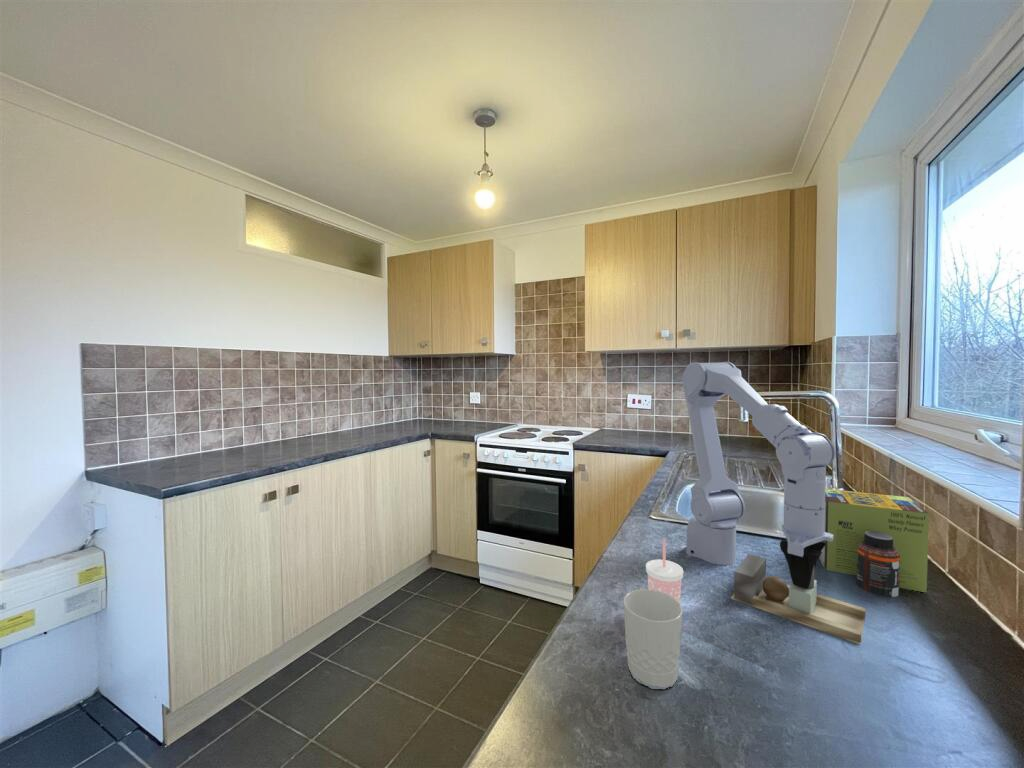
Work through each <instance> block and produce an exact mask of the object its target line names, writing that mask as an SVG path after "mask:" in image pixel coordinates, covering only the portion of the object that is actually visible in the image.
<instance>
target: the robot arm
mask: <svg viewBox="0 0 1024 768" xmlns="http://www.w3.org/2000/svg"><path fill="white" fill-rule="evenodd" d="M681 379H682V386H683V392H684V397H685V401H686V407H687V413H688V414H687V415H688V418H689V424H690V430H691V436H692V440H693V441H692V442H693V446H694V453H695V458H696V464H697V469H698V474H699V475H698V476H699V479H698V480H697V481H696V482H695V483H694V484H693V485H692V487H690V494H691V499H690V511H691V513H692V515H693V516H691V517H690V518H689V520H688V522H687V528H686V555H688V556H692V557H693V558H694V557H695V558H698V559H701V560H704V561H705V562H707V563H710V564H714V565H717V566H718V565H719V566H731V565H733V564H735V563H736V561H737V560H736V559H737V557H736V555H737V552H736V550H737V525H739V523H740V519H742V518H744V516H745V513H746V505H745V501H744V499H743V497H742V495H741V494H740V491H739V486H738V484H737V483H736V482H735V481H734V480H733V481H732V479H730V478H729V477H728V476H727V471H726V466H725V462H724V461H725V460H724V456H723V450H722V445H721V440H720V435H719V430H718V424H717V420H716V419H717V418H716V414H715V409H714V406H715V405H716V404H717V402H718V401H719V400H720V399H722V398H724V396H726V395H727V396H728V397H729V398H730V399H732V401H734V402H735V403H736V404H738V405H739V406H740V407H742V409H744V410H745V411H746V412H747V413H748V414H750V415H751V416H752V418H751V424H752V426H753V428H755V429H756V430H757V431H758V432H759V433H760V434H761V435H762V436H763V437H764V438H765V439H766V440H767V441H768V442H770V444H771V445H773V447H774V448H775V455H776V458H777V460H778V461H779V463H780V465H781V474H782V476H783V478H784V479H783V481H784V482H783V484H784V486H783V487H784V488H783V490H784V491H783V496H784V497H783V524H782V526H781V529H782V532H783V534H784V537H785V539H786V540H783V539H782V540H781V541H780V543H779V548H780V550H781V552H782V554H783V555H784V557H785V559H786V562H787V564H788V565H787V566H788V568H789V569H788V570H789V573H790V579H791V581H792V582H793V585H796V586H799V587H803V588H806V589H808V587H809V585H810V582H811V577H812V572H813V568H814V573H815V571H816V567H817V563H818V559H819V557H820V556H821V554H822V552H821V550H822V549H823V547H824V546H825V545H826V541H833V537H834V535H833V534H830V533H826V532H825V489H826V481H827V480H826V477H827V466H830V465H831V464H833V462H834V460H835V457H836V449H835V446H834V445H833V442H831V440H830V439H829V438H828V436H827V435H825V434H823V433H821V432H812V431H811V430H810V429H808V427H807V426H805V425H804V424H801V423H800V422H799V421H798V420H797V419H795V418H794V416H792V415H790V413H789V412H788V411H789V410H788V408H786V406H785V405H779V404H776V403H770V404H769V403H767V402H766V400H765V399H764V398H762V396H761V395H760V394H758V392H757V391H756V390H755V389H754V388H753V387H752V386H751V384H749V383H748V382H747V381H746V379H744V378H743V377H742V370H741V369H739V368H738V367H736V365H735V364H734V363H732V362H730V361H722V362H697V361H695V362H694V361H693V362H690V363H689V364H687V366H686V367H685V370H684V372H683V374H682V375H681ZM692 551H693V552H692ZM792 582H791V583H792Z"/></svg>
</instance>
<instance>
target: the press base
mask: <svg viewBox="0 0 1024 768" xmlns="http://www.w3.org/2000/svg"><path fill="white" fill-rule="evenodd" d="M745 556H746V557H745V558H744V559H743V560H742V561H741V563H739V564H738V566H737V567H736V568H735V569H734V572H733V594H732V595H731V596H730V599H731V600H734V601H737V602H739V603H743V604H745V605H748V606H751V607H754V608H757V609H759V610H762V611H764V612H768V613H771V614H773V615H776V616H778V617H780V618H781V617H782V618H785V619H788V620H790V621H793V622H796V623H799V624H801V625H804V626H806V627H810V628H813V629H816V630H819V631H821V632H823V633H827V634H829V635H832V636H836V637H838V638H841V639H844V640H846V641H849V642H852V643H854V644H858V645H861V643H862V637H863V632H864V625H865V619H866V615H867V614H866V610H867V609H866V608H865V607H862V606H858V605H856V604H852V603H849V602H845V601H842V600H839V599H836V598H834V597H833V598H832V597H829V596H826V595H822V594H819V593H817V596H816V605H815V608H814V610H813V613H812V615H811V614H808V613H805V612H802V611H799V610H796V609H794V608H791V607H789V594H788V597H787V598H786V599H785V600H784V601H783V603H782V604H779V603H776V602H773V601H770V600H767V599H766V594H765V592H764V590H763V586H762V585H763V581H764V580H765V579H766V578H767V558H766V557H761V556H759V555H754V554H751V553H748V554H747V555H745ZM790 585H791V584H790ZM790 585H789V584H787V586H788V588H789V587H790Z"/></svg>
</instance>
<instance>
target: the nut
mask: <svg viewBox="0 0 1024 768" xmlns="http://www.w3.org/2000/svg"><path fill="white" fill-rule="evenodd" d="M787 585H788V584H787V583H786V582H785V580H784V579H782V578H781V577H779V576H773V575H772V576H771V575H770V576H766V579H765V580H764V581H763V585H762V586H763V590H764V592H765V594H766V599H767V600H770V601H773V602H776V603H779V604H782V603H783V601H784V600H785V599H786V598H787V597H788V594H789V588H788V586H787Z"/></svg>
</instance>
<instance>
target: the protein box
mask: <svg viewBox="0 0 1024 768" xmlns="http://www.w3.org/2000/svg"><path fill="white" fill-rule="evenodd" d="M929 523H930V513H929V512H928V511H927V510H925V509H924V508H923V507H921V506H920V505H919V504H917V503H916V502H915V501H913V499H912V498H910V497H908V496H900V495H891V494H890V495H889V494H888V495H887V494H879V493H870V492H869V493H868V492H863V491H862V492H861V491H851V490H850V491H849V490H839V489H829V488H825V532H826V533H830V534H833V535H834V537H833V541H826V545H825V546H824V547H823V549H822V550H821V552H822V554H821V556H820V557H819V558H818V559H819V561H820V564H821V566H822V567H823V568H824V569H825V570H826V571H831V572H837V573H842V574H847V575H852V576H854V577H855V576H856V577H857V552H858V544H859V543H860V542H863V541H864V540H865V539H864V536H865V532H867V531H875V532H881V533H884V534H888V535H890V536H892V537H893V547H894V548H895V549H897V550H898V552H899V553H900V582H899V585H900V586H899V589H903V590H904V589H905V590H909V591H911V590H914V591H913V592H915V591H921V592H927V591H928V589H927V588H928V587H927V586H928V560H929V559H928V557H929V555H928V553H929V531H930V530H929V529H930V528H929V526H930V525H929Z"/></svg>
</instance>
